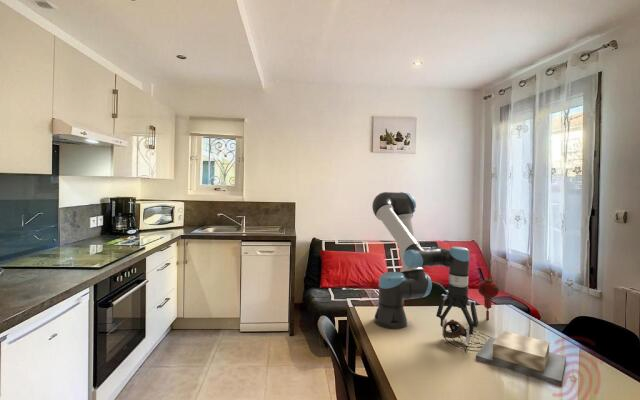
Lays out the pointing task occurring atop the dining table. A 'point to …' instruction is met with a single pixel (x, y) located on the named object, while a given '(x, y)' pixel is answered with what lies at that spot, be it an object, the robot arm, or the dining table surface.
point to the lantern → (488, 293)
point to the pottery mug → (454, 330)
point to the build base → (547, 375)
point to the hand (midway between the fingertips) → (456, 338)
